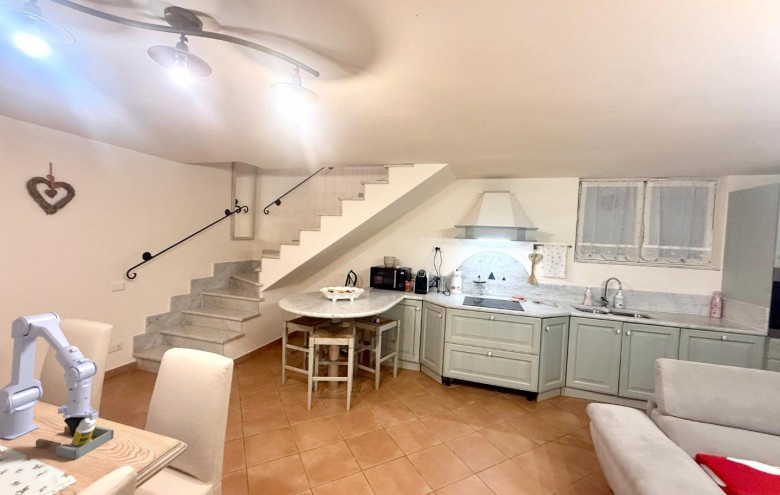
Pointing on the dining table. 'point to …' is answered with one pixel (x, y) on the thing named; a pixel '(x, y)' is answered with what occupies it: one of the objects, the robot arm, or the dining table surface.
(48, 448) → the parallel wooden rails
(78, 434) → the supplement bottle
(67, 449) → the cradle
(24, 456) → the dining table surface
